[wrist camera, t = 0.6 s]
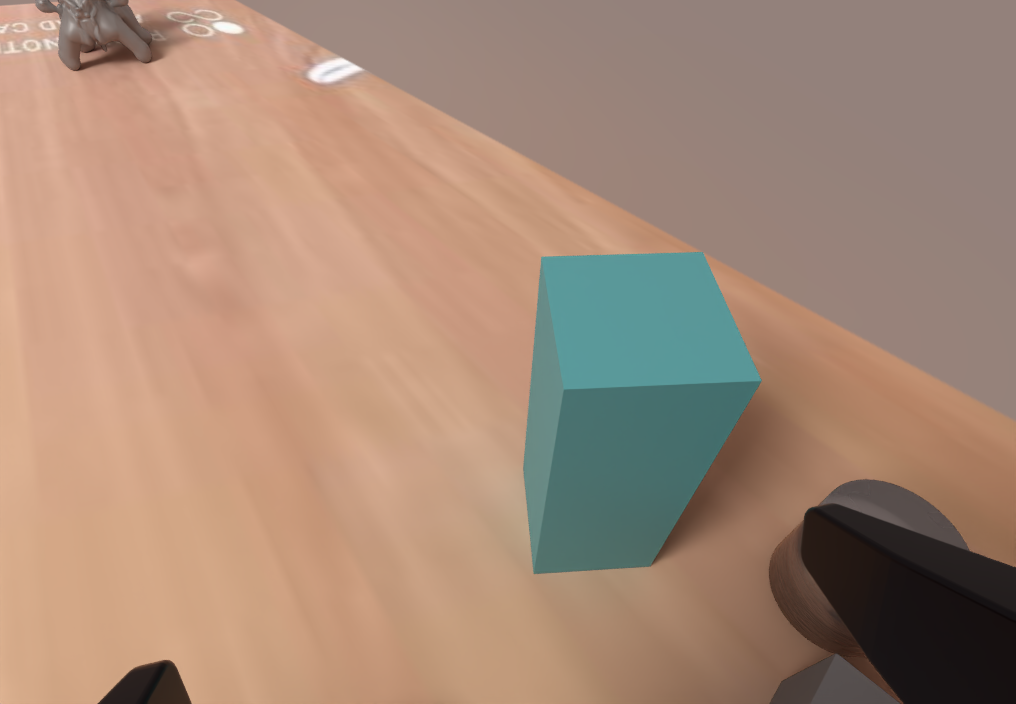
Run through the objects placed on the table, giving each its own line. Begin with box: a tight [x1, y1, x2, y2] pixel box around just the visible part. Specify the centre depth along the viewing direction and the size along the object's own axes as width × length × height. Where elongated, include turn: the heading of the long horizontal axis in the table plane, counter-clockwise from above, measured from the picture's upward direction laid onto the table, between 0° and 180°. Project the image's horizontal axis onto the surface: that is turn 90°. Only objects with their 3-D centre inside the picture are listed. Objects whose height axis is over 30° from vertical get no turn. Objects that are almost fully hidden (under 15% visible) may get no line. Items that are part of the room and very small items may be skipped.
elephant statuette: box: [35, 0, 152, 70], centre depth 54 cm, size 9×12×8 cm
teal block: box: [523, 252, 762, 574], centre depth 20 cm, size 5×5×13 cm
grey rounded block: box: [769, 479, 969, 657], centre depth 21 cm, size 5×5×5 cm
